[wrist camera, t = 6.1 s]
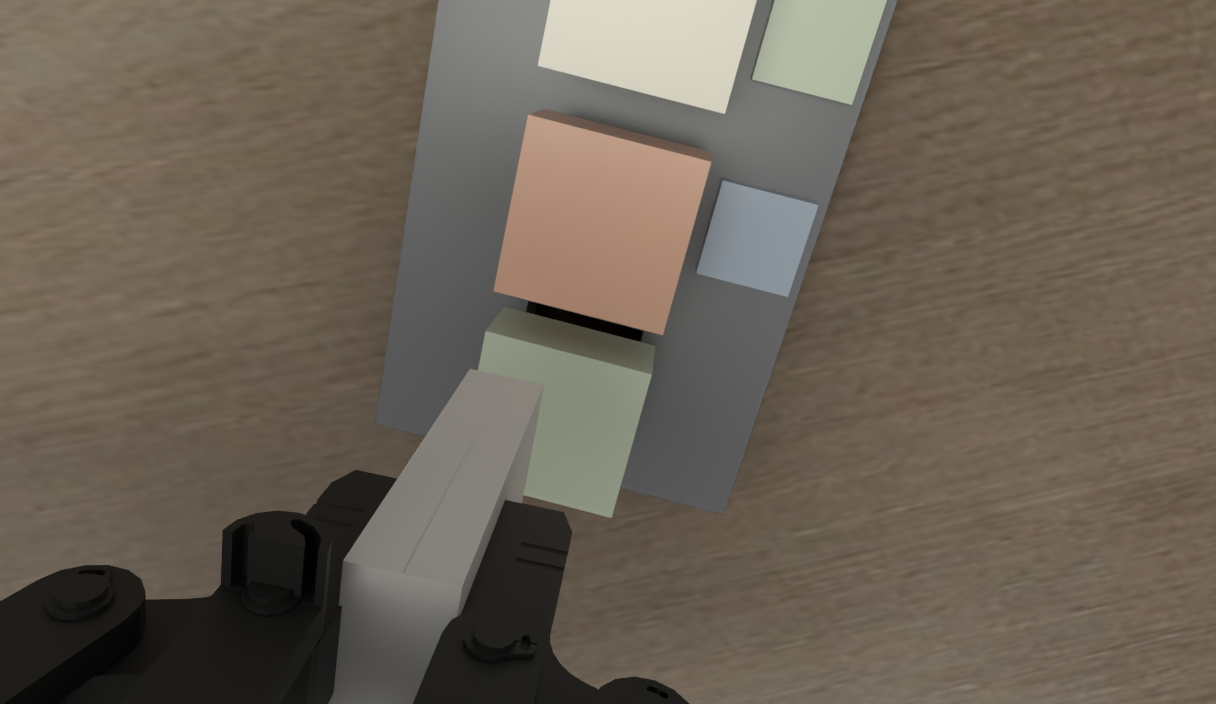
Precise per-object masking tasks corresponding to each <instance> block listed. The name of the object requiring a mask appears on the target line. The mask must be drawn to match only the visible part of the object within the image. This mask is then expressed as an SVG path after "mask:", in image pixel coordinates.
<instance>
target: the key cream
mask: <svg viewBox="0 0 1216 704" xmlns="http://www.w3.org/2000/svg"><path fill="white" fill-rule="evenodd" d="M756 1H757V0H550V5H549V11H548V16H547V21H546V26H545V31H544V36H543V41H542V46H541V51H540V56H539V62H538V66H540V67H544V68H548V69H552V70H556V71H560V72H563V73H567V74H571V75H575V76H579V77H583V78H587V79H591V80H595V81H598V82H602V83H606V84H610V85H614V86H618V87H622V88H626V89H630V90H633V91H637V92H641V93H645V94H649V95H653V96H657V97H661V98H665V99H668V100H672V101H676V102H680V103H684V104H688V105H692V106H696V107H700V108H703V109H707V110H711V111H715V112H719V113H723V114H725V112H726V108H727V105H728V101H729V98H730V94H731V91H732V87H733V84H734V80H735V76H736V73H737V69H738V66H739V62H740V59H741V55H742V51H743V48H744V44H745V41H746V37H747V34H748V30H749V26H750V23H751V19H752V16H753V12H754V9H755V5H756Z"/></svg>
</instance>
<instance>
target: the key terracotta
mask: <svg viewBox="0 0 1216 704" xmlns="http://www.w3.org/2000/svg"><path fill="white" fill-rule="evenodd" d="M710 166H711V156H710V151H706V150H702V149H698V148H694V147H691V146H687V145H683V144H679V143H675V142H671V141H667V140H663V139H660V138H656V137H652V136H648V135H644V134H640V133H636V132H632V131H628V130H625V129H621V128H617V127H613V126H609V125H605V124H601V123H597V122H594V121H590V120H586V119H582V118H578V117H574V116H570V115H566V114H562V113H559V112H555V111H551V110H547V109H542V110H539V111H537V112H534V113H531V114H528V118H527V123H526V128H525V133H524V138H523V143H522V148H521V153H520V158H519V163H518V168H517V174H516V179H515V184H514V189H513V194H512V199H511V204H510V209H509V214H508V219H507V225H506V230H505V235H504V240H503V245H502V250H501V255H500V260H499V265H498V270H497V275H496V281H495V286H494V291H495V292H499V293H502V294H506V295H510V296H514V297H518V298H522V299H525V300H529V301H533V302H537V303H541V304H545V305H549V306H552V307H556V308H560V309H564V310H568V311H572V312H576V313H579V314H583V315H587V316H591V317H595V318H599V319H602V320H606V321H610V322H614V323H618V324H622V325H626V326H629V327H633V328H637V329H641V330H645V331H649V332H652V333H656V334H660V335H663V333H664V330H665V326H666V322H667V319H668V315H669V312H670V308H671V305H672V301H673V297H674V294H675V290H676V287H677V283H678V280H679V276H680V272H681V269H682V265H683V262H684V258H685V255H686V251H687V248H688V244H689V240H690V237H691V233H692V230H693V226H694V223H695V219H696V215H697V212H698V208H699V205H700V201H701V198H702V194H703V190H704V187H705V183H706V180H707V176H708V173H709V169H710Z"/></svg>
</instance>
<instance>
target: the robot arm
mask: <svg viewBox="0 0 1216 704" xmlns="http://www.w3.org/2000/svg"><path fill="white" fill-rule="evenodd" d="M543 387H544V385H543V384H538V383H534V382H529V381H524V380H520V379H515V378H510V377H506V376H501V375H496V374H492V373H487V372H482V371H478V370H473V369H470V370H469V371H468V373H467V374H466V376H465V377H464V379H463V380H462V382H461V383H460V385H459V386H458V388H457V389H456V391H455V392H454V394H453V395H452V397H451V398H450V400H449V401H448V403H447V404H446V406H445V407H444V409H443V410H442V412H441V413H440V415H439V416H438V418H437V420H436V421H435V423H434V424H433V426H432V427H431V429H430V430H429V432H428V433H427V435H426V436H425V438H424V439H423V441H422V442H421V444H420V445H419V447H418V448H417V450H416V451H415V453H414V454H413V456H412V457H411V459H410V460H409V462H408V463H407V465H406V466H405V468H404V469H403V471H402V472H401V474H400V475H399V477H398V478H397V479H396V478H391V477H386V476H382V475H377V474H373V473H368V472H363V471H359V470H355V471H353V472H351V473H349V474H347V475H345V476H343V477H342V478H340V479H338V480H336V481H334V482H332V483H331V484H330V485H329V486H328V488H327V489H326V490H325V491H324V493H323V494H322V495H321V496H320V498H319V499H318V500H317V504H314V505H313V506H312V507H311V509H310V510H309V511H308V512H307V514H306V515H303V514H301V513H296V512H285V511H271V512H262V513H255V514H252V515H249V516H246V517H244V518H241V519H238V520H236V521H235V522H233V523H232V524H230V525H229V526H227V527H226V528H225V529H223V539H222V567H221V585H220V586H219V588H218V589H217V590H216V591H215V592H214V593H213V595H212V596H210V597H205V598H194V599H160V600H145V589H144V586H143V583H142V581H141V579H140V578H139V577H137V576H136V575H134V574H133V573H132V572H130V571H129V570H126V569H122V568H118V567H114V566H110V565H84V566H79V567H75V568H70V569H65V570H60V571H58V572H55V573H53V574H51V575H48V576H46V577H44V578H41V579H39V580H37V581H35V582H33V583H32V584H30V585H28V586H26V587H25V588H23V589H21V590H19V591H18V592H16V593H14V594H12V595H11V596H9V597H7V598H5V599H4V600H2V601H0V704H328V702H329V704H689V703H688V702H687V701H686V700H685V699H683V698H682V697H681V696H680V695H679V694H678V693H677V692H676V691H675V690H673V689H671V688H669V687H667V686H665V685H663V684H661V683H659V682H657V681H655V680H649V679H644V678H638V677H629V678H620V679H615V680H613V681H611V682H609V683H607V684H605V685H604V686H602V687H600V689H599V690H598V689H596V688H594V687H592V686H590V685H588V684H586V683H584V682H583V681H581V680H580V679H578V678H576V677H575V676H573V675H572V674H570V673H569V672H568V671H567V670H566V669H565V668H564V667H563V666H562V665H561V664H560V663H559V661H558V660H557V658H556V657H555V655H554V654H553V651H552V648H551V644H550V633H551V628H552V624H553V619H554V615H555V610H556V606H557V601H558V596H559V592H560V587H561V582H562V577H563V573H564V568H565V563H566V559H567V554H568V549H569V544H570V540H571V535H572V531H571V528H570V526H569V524H568V521H567V519H566V517H565V514H564V512H560V511H555V510H550V509H546V508H541V507H536V506H532V505H527V504H522V501H523V496H524V490H525V485H526V480H527V474H528V469H529V463H530V458H531V452H532V447H533V441H534V436H535V431H536V425H537V420H538V414H539V409H540V403H541V398H542V392H543ZM329 700H330V701H329Z"/></svg>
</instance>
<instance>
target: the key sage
mask: <svg viewBox="0 0 1216 704" xmlns="http://www.w3.org/2000/svg"><path fill="white" fill-rule="evenodd" d="M654 354H655V346H654V345H650V344H646V343H643V342H639V341H635V340H631V339H627V338H623V337H619V336H616V335H612V334H608V333H604V332H600V331H596V330H593V329H589V328H585V327H581V326H577V325H573V324H569V323H566V322H562V321H558V320H554V319H550V318H546V317H543V316H539V315H535V314H531V313H527V312H523V311H519V310H516V309H512V308H508V307H503V309H502V310H501V311H500V313H499V314H498V315H497V317H496V318H495V319H494V321H493V322H492V323H491V325H490V326H489V327H488V329H487V330H486V331H485V337H484V342H483V347H482V352H481V357H480V362H479V367H478V371H482V372H487V373H492V374H496V375H501V376H506V377H510V378H515V379H520V380H524V381H529V382H534V383H538V384H543V385H544V387H543V392H542V398H541V403H540V409H539V414H538V420H537V425H536V431H535V436H534V441H533V447H532V452H531V458H530V463H529V469H528V474H527V480H526V485H525V490H524V495H525V496H529V497H533V498H537V499H540V500H544V501H548V502H552V503H556V504H559V505H563V506H567V507H571V508H575V509H579V510H582V511H586V512H590V513H594V514H598V515H601V516H605V517H609V518H612V515H613V511H614V508H615V504H616V501H617V497H618V494H619V490H620V486H621V483H622V479H623V476H624V472H625V469H626V465H627V461H628V458H629V454H630V451H631V447H632V444H633V440H634V437H635V433H636V429H637V426H638V422H639V419H640V415H641V412H642V408H643V404H644V401H645V397H646V394H647V390H648V387H649V383H650V379H651V376H652V370H653V362H654Z"/></svg>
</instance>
